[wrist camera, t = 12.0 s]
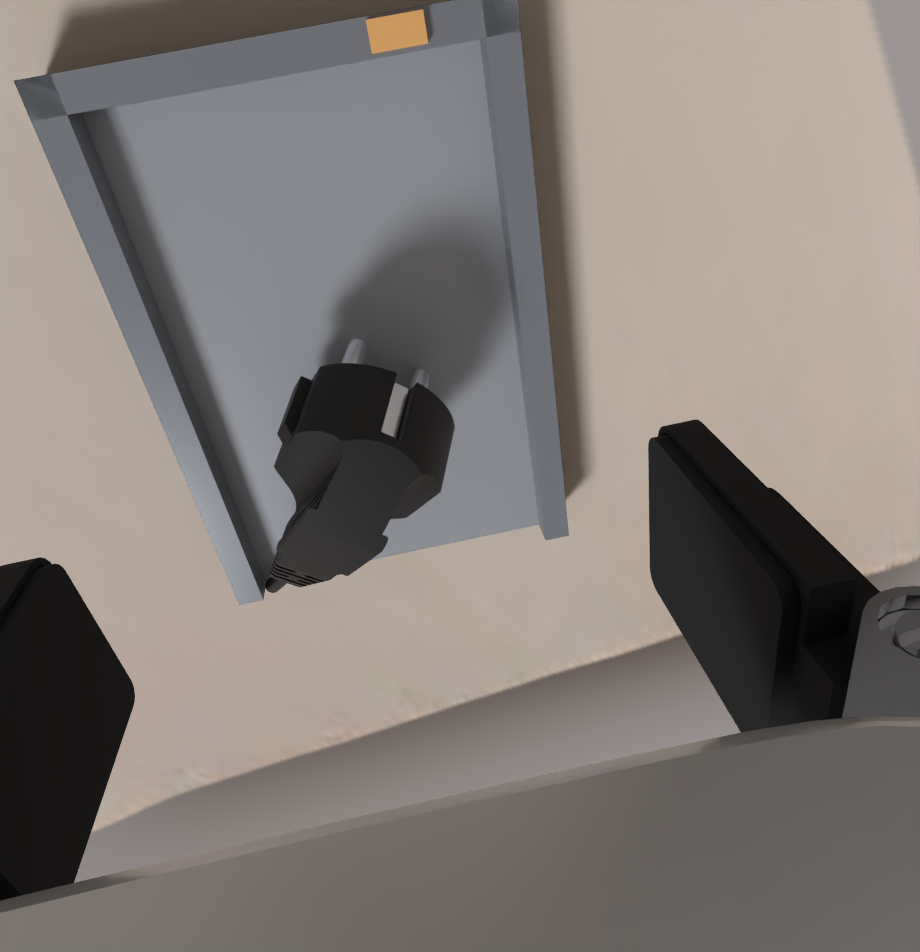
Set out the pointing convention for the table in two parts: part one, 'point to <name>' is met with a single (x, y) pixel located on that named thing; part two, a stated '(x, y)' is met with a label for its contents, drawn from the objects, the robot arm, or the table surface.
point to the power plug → (355, 464)
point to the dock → (323, 252)
